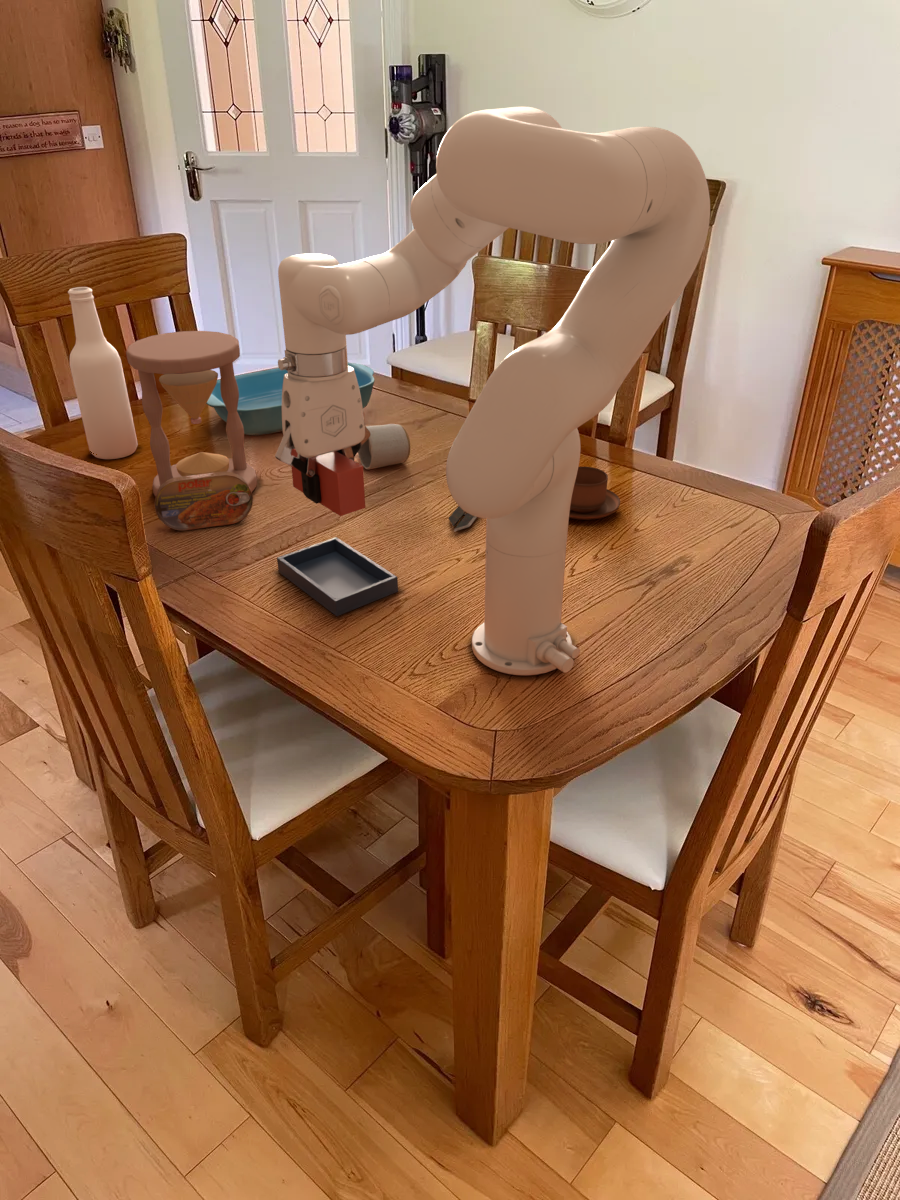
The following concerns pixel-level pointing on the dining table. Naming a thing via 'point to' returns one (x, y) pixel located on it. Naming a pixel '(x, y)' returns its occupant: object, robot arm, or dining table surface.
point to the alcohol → (99, 383)
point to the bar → (336, 482)
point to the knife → (465, 521)
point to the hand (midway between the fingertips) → (328, 493)
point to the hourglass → (190, 396)
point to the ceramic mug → (385, 446)
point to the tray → (337, 575)
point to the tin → (203, 500)
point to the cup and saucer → (592, 495)
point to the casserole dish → (272, 398)
